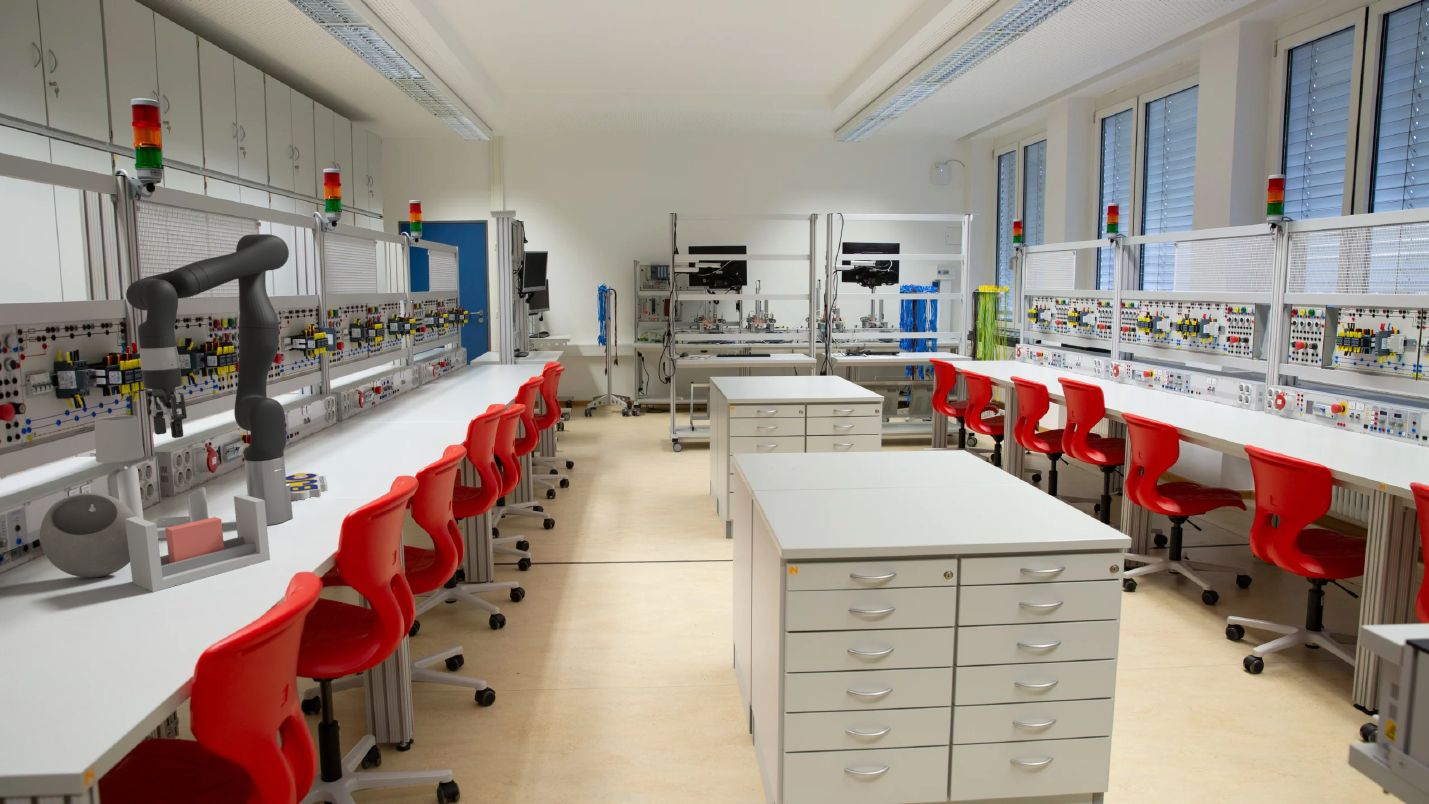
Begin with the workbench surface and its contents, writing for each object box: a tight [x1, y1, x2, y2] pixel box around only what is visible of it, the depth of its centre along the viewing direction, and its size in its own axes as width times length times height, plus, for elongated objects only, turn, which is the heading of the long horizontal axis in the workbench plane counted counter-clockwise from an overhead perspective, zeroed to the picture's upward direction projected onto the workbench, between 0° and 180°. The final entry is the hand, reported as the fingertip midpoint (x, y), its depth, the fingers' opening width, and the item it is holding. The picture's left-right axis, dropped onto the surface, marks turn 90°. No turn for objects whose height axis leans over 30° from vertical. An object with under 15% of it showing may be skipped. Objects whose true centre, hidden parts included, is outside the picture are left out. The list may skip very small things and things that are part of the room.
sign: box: [286, 472, 329, 501], centre depth 254 cm, size 28×3×20 cm
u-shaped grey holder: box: [125, 493, 271, 593], centre depth 184 cm, size 24×10×14 cm, turn 145°
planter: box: [39, 492, 136, 579], centre depth 180 cm, size 18×7×19 cm, turn 105°
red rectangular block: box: [165, 516, 224, 564], centre depth 183 cm, size 10×3×9 cm, turn 145°
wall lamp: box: [94, 414, 209, 540], centre depth 210 cm, size 10×21×30 cm, turn 101°
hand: (169, 435), depth 195 cm, fingers open, 8 cm apart
